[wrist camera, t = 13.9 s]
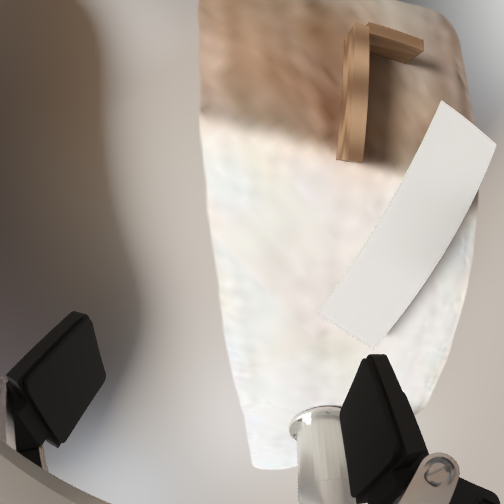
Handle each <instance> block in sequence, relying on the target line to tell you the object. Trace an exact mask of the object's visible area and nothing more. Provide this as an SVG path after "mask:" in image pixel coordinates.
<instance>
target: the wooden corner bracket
mask: <svg viewBox="0 0 504 504" xmlns="http://www.w3.org/2000/svg"><path fill="white" fill-rule="evenodd" d="M423 51H424V42H423V40H421V39H419V38H416V37H413V36H411V35H408V34H405V33H402V32H399V31H396V30H393V29H390V28H387V27H384V26H380V25H377V24H373V23H370V22H369V23H368V24H367V26H366V25H362V24H358V23H355V24H354V26H353V27H352V29H351V31H350V32H349V34H348V36H347V37H346V39H345V41H344V63H343V84H342V100H341V114H340V126H339V137H338V147H337V156H336V160H342V161H347V162H358V163H362V162H363V153H364V144H365V133H366V121H367V107H368V88H369V53H371V54H374V55H378V56H382V57H385V58H389V59H392V60H395V61H398V62H401V63H404V64H405V63H406V62H408V61H409V60H411V59H412V58H414V57H415V56H417V55H419V54H420V53H422V52H423Z"/></svg>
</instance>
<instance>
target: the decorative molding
mask: <svg viewBox="0 0 504 504" xmlns="http://www.w3.org/2000/svg"><path fill="white" fill-rule="evenodd" d="M495 148H496V144H495V143H494V142H493V141H492V140H491V139H490V138H488V137H487V136H486V135H485V134H484V133H483V132H482V131H480V130H479V129H478V128H477V127H476V126H474V125H473V124H472V123H471V122H470V121H468V120H467V119H466V118H465V117H463V116H462V115H461V114H459V113H458V112H457V111H455V110H454V109H453V108H451V107H450V106H449V105H447V104H446V103H444V102H443V101H442V100H441V102H440V105H439V107H438V109H437V112H436V114H435V116H434V118H433V120H432V122H431V125H430V127H429V129H428V131H427V133H426V135H425V137H424V139H423V141H422V143H421V145H420V147H419V149H418V151H417V153H416V155H415V157H414V159H413V161H412V163H411V165H410V167H409V169H408V170H407V172H406V174H405V176H404V178H403V180H402V182H401V183H400V185H399V187H398V189H397V191H396V192H395V194H394V196H393V198H392V199H391V201H390V203H389V205H388V206H387V208H386V210H385V211H384V213H383V215H382V216H381V218H380V220H379V221H378V223H377V225H376V226H375V228H374V230H373V231H372V233H371V235H370V236H369V238H368V239H367V241H366V243H365V244H364V246H363V247H362V249H361V250H360V252H359V254H358V255H357V257H356V258H355V260H354V261H353V263H352V264H351V266H350V267H349V269H348V270H347V272H346V273H345V275H344V276H343V278H342V279H341V281H340V282H339V283H338V285H337V286H336V288H335V289H334V291H333V292H332V294H331V295H330V296H329V298H328V299H327V301H326V302H325V303H324V305H323V306H322V308H321V309H320V310H319V312H318V313H317V314H318V315H319V316H321V317H323V318H324V319H326V320H327V321H329V322H330V323H332V324H333V325H335V326H337V327H338V328H340V329H341V330H343V331H345V332H346V333H348V334H349V335H351V336H352V337H354V338H356V339H357V340H359V341H360V342H362V343H364V344H365V345H367V346H368V347H370V348H372V349H373V350H374V348H375V347H376V346H377V345H378V344H379V342H380V341H381V340H382V339H383V338H384V337H385V335H386V334H387V333H388V332H389V330H390V329H391V328H392V327H393V325H394V324H395V323H396V322H397V320H398V319H399V318H400V316H401V315H402V314H403V313H404V311H405V310H406V309H407V307H408V306H409V305H410V303H411V302H412V300H413V299H414V298H415V296H416V295H417V293H418V292H419V291H420V289H421V288H422V286H423V285H424V283H425V282H426V280H427V279H428V277H429V276H430V274H431V273H432V271H433V270H434V268H435V267H436V265H437V264H438V262H439V261H440V259H441V257H442V256H443V254H444V252H445V251H446V249H447V247H448V246H449V244H450V242H451V241H452V239H453V237H454V235H455V234H456V232H457V230H458V228H459V226H460V225H461V223H462V221H463V219H464V217H465V215H466V213H467V211H468V209H469V207H470V206H471V203H472V201H473V199H474V197H475V195H476V193H477V191H478V189H479V187H480V184H481V182H482V180H483V178H484V175H485V173H486V171H487V169H488V166H489V164H490V161H491V159H492V156H493V154H494V151H495Z"/></svg>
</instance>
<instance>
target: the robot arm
mask: <svg viewBox="0 0 504 504" xmlns="http://www.w3.org/2000/svg"><path fill="white" fill-rule="evenodd" d="M6 376H7V378H8V380H9V381H8V382H7V383H6V382H5V380H4V378H2V377H1V376H0V504H110V503H108V502H106V501H103V500H101V499H99V498H96V497H94V496H92V495H90V494H88V493H86V492H84V491H82V490H80V489H78V488H76V487H73V486H72V485H70V484H68V483H66V482H64V481H62V480H61V479H59V478H57V477H56V476H54V475H52V474H50V473H49V472H48V467H47V462H46V457H45V452H44V447H43V443H44V441H45V440H46V441H47V442H48V443H50V444H52V445H54V446H55V447H57V448H58V447H59V446H60V444H61V443H64V442H65V441H66V440H67V438H68V437H69V435H70V434H71V432H72V430H73V429H74V427H75V426H76V424H77V423H78V421H79V419H80V418H81V416H82V415H83V413H84V412H85V410H86V409H87V407H88V406H89V404H90V403H91V401H92V400H93V398H94V396H95V395H96V393H97V392H98V391H99V389H100V388H101V386H102V385H103V383H104V381H105V378H106V373H105V370H104V366H103V363H102V360H101V356H100V352H99V349H98V345H97V340H96V336H95V332H94V328H93V323H92V321H91V320H90V319H89V317H88V315H86V314H83V313H79V312H76V311H73V312H71V313H70V314H69V315H68V316H67V317H66V318H64V319H63V320H62V321H61V322H60V323H59V324H58V325H57V326H56V327H55V328H53V329H52V330H51V331H50V332H49V333H48V334H47V335H46V336H45V337H44V338H43V339H42V340H41V341H40V342H39V343H37V344H36V345H35V347H33V348H32V349H31V350H30V351H29V352H28V353H27V354H26V355H25V356H24V357H23V358H22V359H21V360H20V361H19V362H18V363H17V364H16V365H15V366H14V367H13V368H12V369H11V370H10V371H9V372H8V373H7V375H6ZM289 433H290V435H291V436H292V438H294V439H295V440H297V453H298V501H299V503H300V504H362V503H368V504H500V501H499V498H498V497H497V495H496V494H495V493H493V492H491V491H489V490H487V489H484V488H482V487H480V486H477V485H475V484H473V483H471V482H468V481H466V480H464V479H462V478H460V477H459V474H460V472H459V466H458V464H457V462H456V461H455V460H454V459H453V458H452V457H450V456H449V455H447V454H445V453H433V454H430V455H429V453H428V450H427V448H426V445H425V442H424V439H423V437H422V435H421V431H420V429H419V426H418V424H417V421H416V419H415V416H414V414H413V411H412V409H411V406H410V404H409V401H408V399H407V397H406V395H405V393H404V392H403V391H402V389H401V387H400V384H399V382H398V380H397V378H396V375H395V373H394V371H393V369H392V366H391V364H390V362H389V360H388V357H387V356H386V355H385V354H370V355H368V356H367V358H366V359H362V361H361V363H360V366H359V368H358V371H357V373H356V376H355V378H354V380H353V383H352V385H351V388H350V390H349V392H348V394H347V397H346V399H345V401H344V403H343V405H342V408H338V407H329V406H326V407H317V408H313V409H309V410H307V411H304V412H302V413H300V414H299V415H297V416H296V417H295V418H293V420H292V421H291V423H290V425H289Z"/></svg>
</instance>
